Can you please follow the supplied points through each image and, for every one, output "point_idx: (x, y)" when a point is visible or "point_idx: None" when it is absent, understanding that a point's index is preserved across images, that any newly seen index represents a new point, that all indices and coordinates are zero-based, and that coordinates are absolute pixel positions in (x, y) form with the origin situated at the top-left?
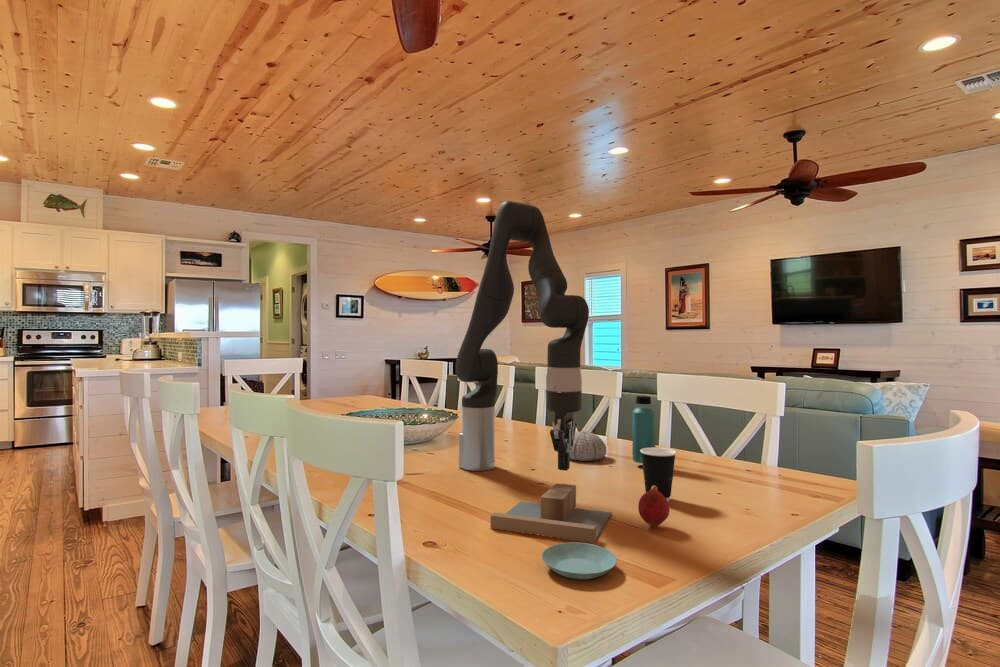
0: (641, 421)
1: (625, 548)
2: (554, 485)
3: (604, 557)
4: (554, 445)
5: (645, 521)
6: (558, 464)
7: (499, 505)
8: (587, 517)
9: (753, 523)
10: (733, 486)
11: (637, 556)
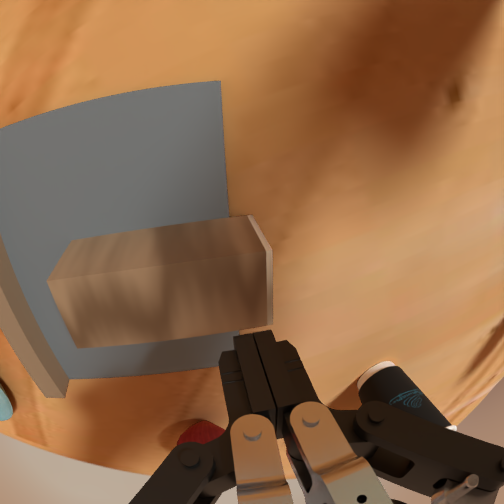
0: None
1: (76, 410)
2: (232, 259)
3: (6, 403)
4: (143, 492)
5: (188, 428)
6: (236, 355)
7: (159, 23)
8: None
9: (288, 464)
10: (440, 400)
11: (64, 422)
